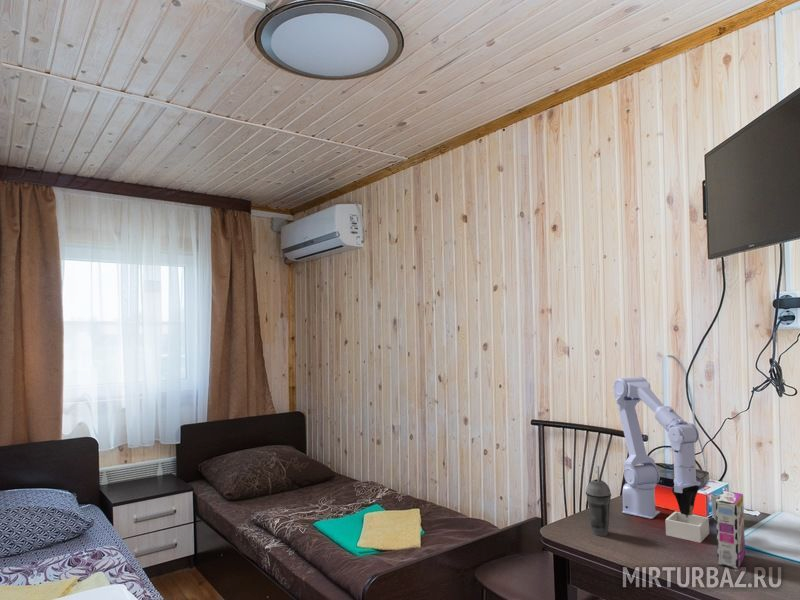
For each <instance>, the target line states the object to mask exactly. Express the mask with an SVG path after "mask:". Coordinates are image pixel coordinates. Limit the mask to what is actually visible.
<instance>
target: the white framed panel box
mask: <svg viewBox="0 0 800 600" xmlns="http://www.w3.org/2000/svg"><path fill="white" fill-rule="evenodd" d="M664 521H665V536H668V537H673V538H677V539H681V540H686V541H691V542H695V543H699V544H700V543H702V542H703V541H704V540H705V539H706V537H708V535H710V523H709V522H710V519H709V517H707V516H700V515H696V514H695V513H693V515H689V524H688V523H685V515H684V514H681V512H680V511H674V512H672V513H671V514H670V515H669V516H668V517H666V519H664Z"/></svg>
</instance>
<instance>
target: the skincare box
mask: <svg viewBox="0 0 800 600" xmlns="http://www.w3.org/2000/svg"><path fill="white" fill-rule="evenodd" d="M720 495H721V494H711V495H710V498H711V515H712V517H711V518H712V519H713V518H714V519H713V520H715V521H716V500H717V498H718V497H719V496H720Z"/></svg>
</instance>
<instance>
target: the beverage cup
mask: <svg viewBox="0 0 800 600" xmlns="http://www.w3.org/2000/svg"><path fill="white" fill-rule="evenodd" d="M596 468H597V469H596V470H597V479H593V480H591V481H590V482H588V484H587V486H586V489H585V495H586V500H587V506H588V513H589V521H590V522H589V523H590V528H591V533H592V534H593V535H594V534H595V536H598V535H599V536H600V537H605V536H608V535H609V526H610V525H609V524H610V507H611V506H610V505H611V504H610V503H611V500H612V493H611V489H610V486H609V485H608V484H607V483H606V482H605V480H604V481H603V480H601V479H600V466H599V465H597V467H596ZM599 536H598V537H599Z"/></svg>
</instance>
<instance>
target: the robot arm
mask: <svg viewBox="0 0 800 600" xmlns="http://www.w3.org/2000/svg"><path fill="white" fill-rule="evenodd" d="M612 389H613V394H614V399H615V402H616V404H617V409H618V413H619V417H620V422H621V426H622V430H623V435H624V438H625V444H626V448H627V452H628V457H627V458H626V460H625V461H624V462H623V469H624V472H623V475H624V479H625V482H626V483H625V484H624V485H623V488H622V494H621V495H622V514H626V515H632V516H636V517H640V518H646V519H650V520H652V519H654V518H655V517H656V516H658V515H660V514H661V511H659V510H656V495H655V491H656V490H655V487H657V484H658V483H659V482H660V479H661V473H660V471H659V469H658V467H657V465H656V461H655V460H654V458H653V457H651V456H649V455H648V454H647V451H646V447H645V443H644V439H643V434H642V431H641V426H640V422H639V419H638V418H639V417H638V413H637V410H636V406H637V404H638V403H640V401H642V402H643V403H644V404H645V405H646V406H647V407H648V408H649V409H650V410H651V411H653V413H654V419H655V420H656V421H657V422H658V423H659V424H660V425H661V426H662V427H663V428H664V430H665V431H666V432H667V437H668V439H669V442H670V447H671V450H673V451H672V453H673V476H674V479H673V484H674V485H673V487H672V488H671V492H672V494H673V496H674V497H675V500H676V502H677V505H678V508H679V512H681V514H686V515H689V512H690V504H691V505H692V506H693V509H694V506H695V501H696V496H697V495H698V492H699V491H700V490H699V489H700V485H702V482H701V481H698V480H697V469H696V449H695V447H696V446H695V443H698V440H699V439H700V433H699V430H698V428H697V427H696V426H695V424H694V423H692V422H687V421H685V420H684V419H683V418H682V417H681V416H680V415H679V414H678V413H677V412H676V411H675V409H674V408H673V407H672V406H669V405H664V404H663V403H662V402H661V400H660V399H659V398H658V397H657V395H656V394H655V393H654V392H653V390H652V389H651V384H650V382H649V381H648V380H647V379H646V378H645V377H644V376H637V377H636V376H635V377H618V378H616V379H615V380H614V383H613V385H612Z"/></svg>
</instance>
